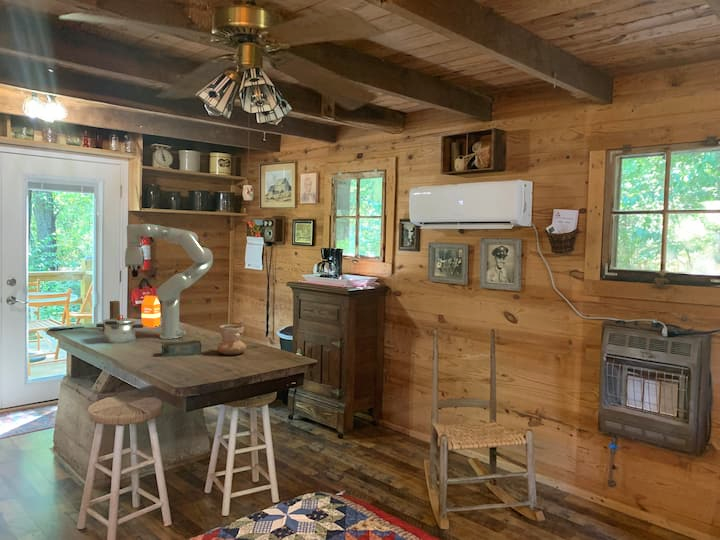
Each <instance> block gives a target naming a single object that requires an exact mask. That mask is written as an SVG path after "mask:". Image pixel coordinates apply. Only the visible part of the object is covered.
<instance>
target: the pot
mask: <svg viewBox="0 0 720 540" xmlns="http://www.w3.org/2000/svg"><path fill="white" fill-rule="evenodd" d="M95 326H96V328H103V327H104V330H105V331H104V343H106V344H112V343H118V344H127V343H126V342H128V343H132V342H131V341H133V342H135V341H136V338H137V337H136V329H143V328H145V327H144V324H142V323H140V324H138V323H136V322H134V323H127V324H117V325H106V324H103V323H96V324H95ZM134 340H135V341H134Z"/></svg>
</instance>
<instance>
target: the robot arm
mask: <svg viewBox="0 0 720 540" xmlns="http://www.w3.org/2000/svg"><path fill="white" fill-rule="evenodd" d="M142 238H157V239H161V240H165V241H167V242H168V243H173V244H178V245H181V247H182V249H183V250H184V251H185V253H187V255H188V256H189V258H190V259H191V260H192V261H193V262H195V263H193V264H191V265H190V266H189V267H188V268H187V269H185V270H184V271H182V272H179V273H176V274H174V275H173V276H171V277H170V278H168V279H167V280H166V281H164V283H162V284H160V286H159V287H157V290H156V295H155V296H157V298H158V300H159V301H161V303H162V304H161V328H162V329H161V332H162V334H160V335H159V337H158V338H160V339H163V340H170V339H171V340H174V339H179V337H180V338H183V335H185V336H186V335H187V331H186V330H182V328H180V301H181V300H180V297H181V292H182V291H183V290H185V289H189V288H190V287H191V286H192V285H193V284H194V283H195V282H197V281H198V280H199V279H201V277H203V276H204V275H205V274H206V273H207V272H208V271H209V270H210V269H211V267H212V265H213V262H214V255H213V252H212V250H210V249H209V248H208V247H202V246H201V245H200V244H199V243H198V242H199V236H198V234H197V233H196V232H194V231H191V230H185V229H181V228H175V227H168V226H163V225H158V224H152V223H143V224H142V223H141V224H136V223H134V224H133V223H132V224H131V223H130V224H127V225H126V245H127V246H126V248H125V252H124V264H125V265H124V267H125V268H128V269H130V270H131V276H132V278H138V276H139V269H141V268H143V267H145V264H146V262H145V261H146V259H145V250H144V248H143V246H144V243H142ZM173 338H174V339H173Z"/></svg>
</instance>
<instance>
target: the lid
mask: <svg viewBox="0 0 720 540" xmlns="http://www.w3.org/2000/svg"><path fill="white" fill-rule="evenodd" d="M134 322H135V323H136V322H137V319H136V318H134V317H133V318H132V317H129V318H128V317H124V315H121V314H120V315H118V316H117V318H114V319H110V318H107V319H103V323H105V324H106V325H117V324H127V323H134ZM103 323H102V324H103Z"/></svg>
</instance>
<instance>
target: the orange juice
mask: <svg viewBox="0 0 720 540" xmlns="http://www.w3.org/2000/svg"><path fill="white" fill-rule="evenodd" d="M141 324H144V326H147V327H146V328H156V327H155V326H157V327H160V326H161V303H160V300H159V299H158V298H157V295H147V294H146V295H144V297H143V300H142V302H141ZM159 325H160V326H159Z"/></svg>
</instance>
